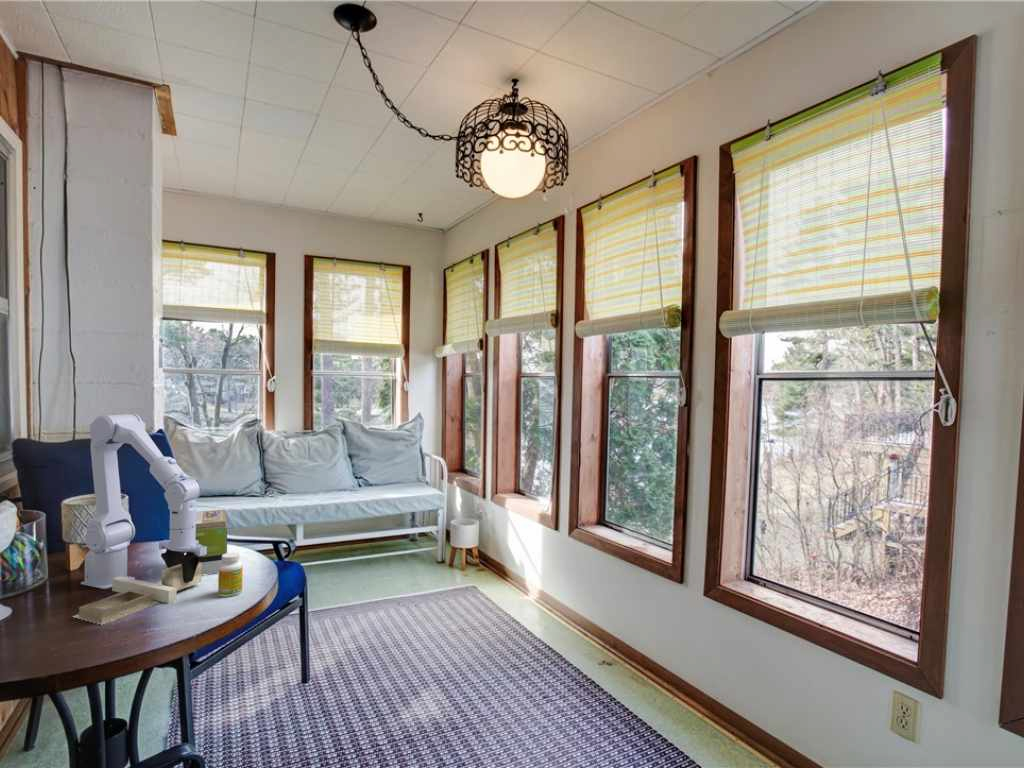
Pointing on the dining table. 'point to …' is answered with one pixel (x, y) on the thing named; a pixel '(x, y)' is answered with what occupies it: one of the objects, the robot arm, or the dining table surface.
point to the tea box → (212, 538)
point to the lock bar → (180, 577)
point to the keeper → (115, 607)
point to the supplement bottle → (230, 575)
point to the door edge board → (145, 588)
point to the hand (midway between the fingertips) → (182, 580)
